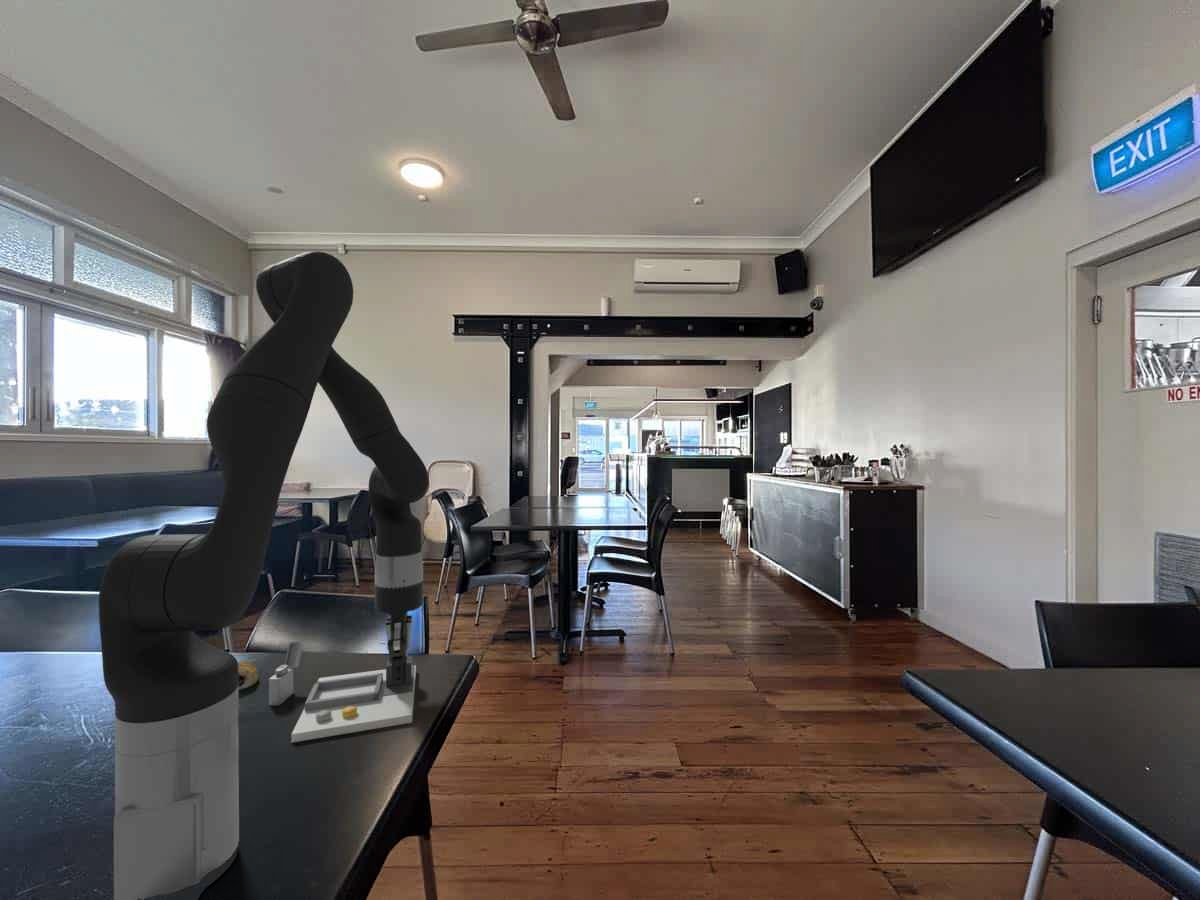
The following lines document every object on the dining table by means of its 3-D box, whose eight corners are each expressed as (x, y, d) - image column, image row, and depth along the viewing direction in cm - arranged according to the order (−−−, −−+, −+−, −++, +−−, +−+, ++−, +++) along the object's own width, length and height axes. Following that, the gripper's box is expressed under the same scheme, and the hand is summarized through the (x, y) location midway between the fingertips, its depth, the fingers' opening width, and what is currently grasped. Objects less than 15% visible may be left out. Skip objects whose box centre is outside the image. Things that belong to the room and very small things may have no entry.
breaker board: (411, 722, 75) (411, 706, 75) (291, 742, 70) (291, 725, 70) (415, 671, 92) (415, 658, 92) (319, 684, 87) (319, 671, 87)
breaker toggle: (411, 683, 85) (411, 662, 85) (386, 686, 83) (386, 666, 83) (411, 675, 88) (412, 655, 88) (387, 678, 86) (387, 659, 86)
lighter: (279, 705, 80) (279, 656, 80) (268, 705, 80) (268, 656, 80) (303, 684, 87) (303, 639, 87) (293, 684, 87) (293, 639, 87)
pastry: (212, 678, 90) (212, 657, 90) (257, 669, 94) (257, 648, 94) (209, 699, 82) (210, 676, 82) (259, 688, 86) (259, 666, 86)
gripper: (422, 588, 77) (422, 698, 77) (424, 568, 90) (424, 663, 90) (369, 592, 75) (369, 706, 75) (379, 571, 87) (379, 669, 87)
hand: (399, 682), depth 82 cm, fingers closed
